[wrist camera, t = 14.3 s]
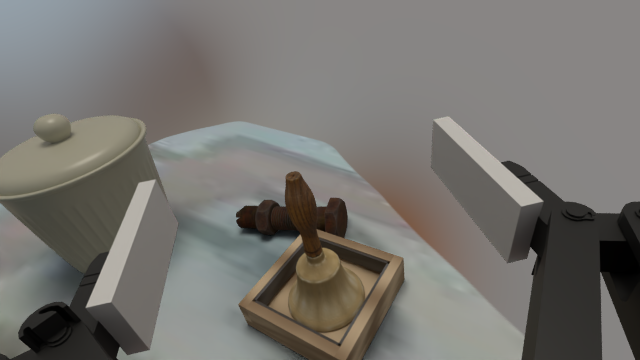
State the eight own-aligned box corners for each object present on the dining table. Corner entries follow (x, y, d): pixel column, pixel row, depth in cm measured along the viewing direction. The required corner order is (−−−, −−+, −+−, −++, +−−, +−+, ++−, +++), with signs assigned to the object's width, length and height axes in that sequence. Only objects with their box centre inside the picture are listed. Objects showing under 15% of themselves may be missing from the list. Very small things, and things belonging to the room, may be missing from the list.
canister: (34, 305, 46) (-103, 170, 34) (107, 213, 60) (29, 97, 49) (166, 294, 44) (68, 145, 32) (208, 201, 58) (152, 76, 46)
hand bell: (296, 344, 34) (251, 220, 25) (282, 279, 41) (242, 164, 32) (377, 316, 35) (361, 188, 26) (350, 258, 42) (330, 140, 33)
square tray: (349, 382, 32) (344, 362, 30) (247, 324, 38) (238, 304, 36) (404, 279, 39) (403, 258, 37) (312, 246, 46) (307, 226, 44)
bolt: (251, 232, 53) (348, 237, 48) (232, 241, 49) (337, 248, 44) (248, 193, 53) (346, 194, 48) (229, 199, 48) (335, 201, 43)
